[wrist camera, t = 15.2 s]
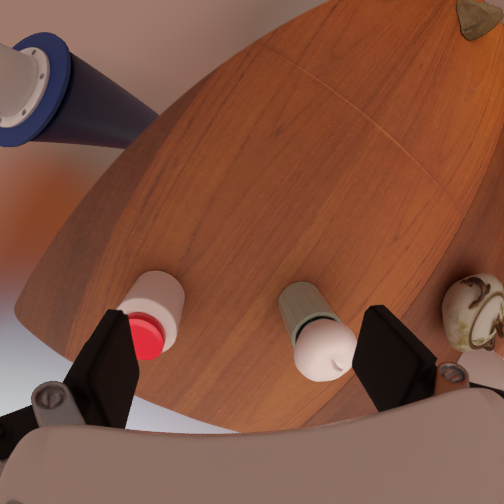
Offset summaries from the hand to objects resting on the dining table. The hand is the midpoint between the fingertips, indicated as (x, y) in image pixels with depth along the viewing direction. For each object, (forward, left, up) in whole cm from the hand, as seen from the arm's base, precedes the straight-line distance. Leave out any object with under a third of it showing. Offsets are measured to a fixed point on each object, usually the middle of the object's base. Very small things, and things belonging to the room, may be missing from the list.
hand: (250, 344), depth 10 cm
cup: (+10, -12, -27) cm, 31 cm away
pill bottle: (-10, -11, -27) cm, 31 cm away
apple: (+10, -12, -19) cm, 24 cm away
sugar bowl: (+43, -14, -27) cm, 53 cm away
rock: (+43, +43, -27) cm, 66 cm away
